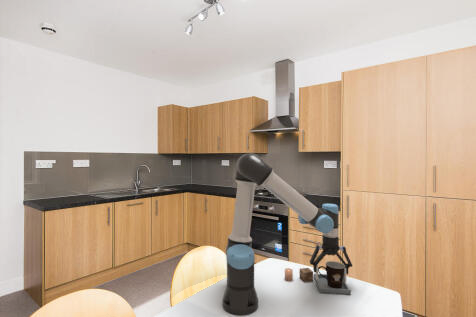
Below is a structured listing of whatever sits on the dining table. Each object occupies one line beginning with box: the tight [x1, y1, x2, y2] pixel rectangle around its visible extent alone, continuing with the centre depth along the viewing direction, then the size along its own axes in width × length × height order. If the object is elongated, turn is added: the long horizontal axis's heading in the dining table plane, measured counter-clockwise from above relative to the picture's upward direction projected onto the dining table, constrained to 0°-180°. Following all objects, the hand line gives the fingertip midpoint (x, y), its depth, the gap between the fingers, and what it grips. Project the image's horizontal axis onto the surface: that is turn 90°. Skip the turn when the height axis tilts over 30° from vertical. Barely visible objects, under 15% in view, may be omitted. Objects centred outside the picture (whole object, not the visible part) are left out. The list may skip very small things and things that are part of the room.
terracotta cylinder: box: [284, 267, 294, 282], centre depth 127 cm, size 4×4×5 cm
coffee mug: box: [318, 260, 345, 289], centre depth 120 cm, size 12×9×10 cm
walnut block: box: [299, 267, 314, 284], centre depth 127 cm, size 5×5×5 cm
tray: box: [313, 273, 352, 296], centre depth 120 cm, size 14×16×2 cm
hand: (330, 279), depth 120 cm, fingers closed on coffee mug, 12 cm apart
